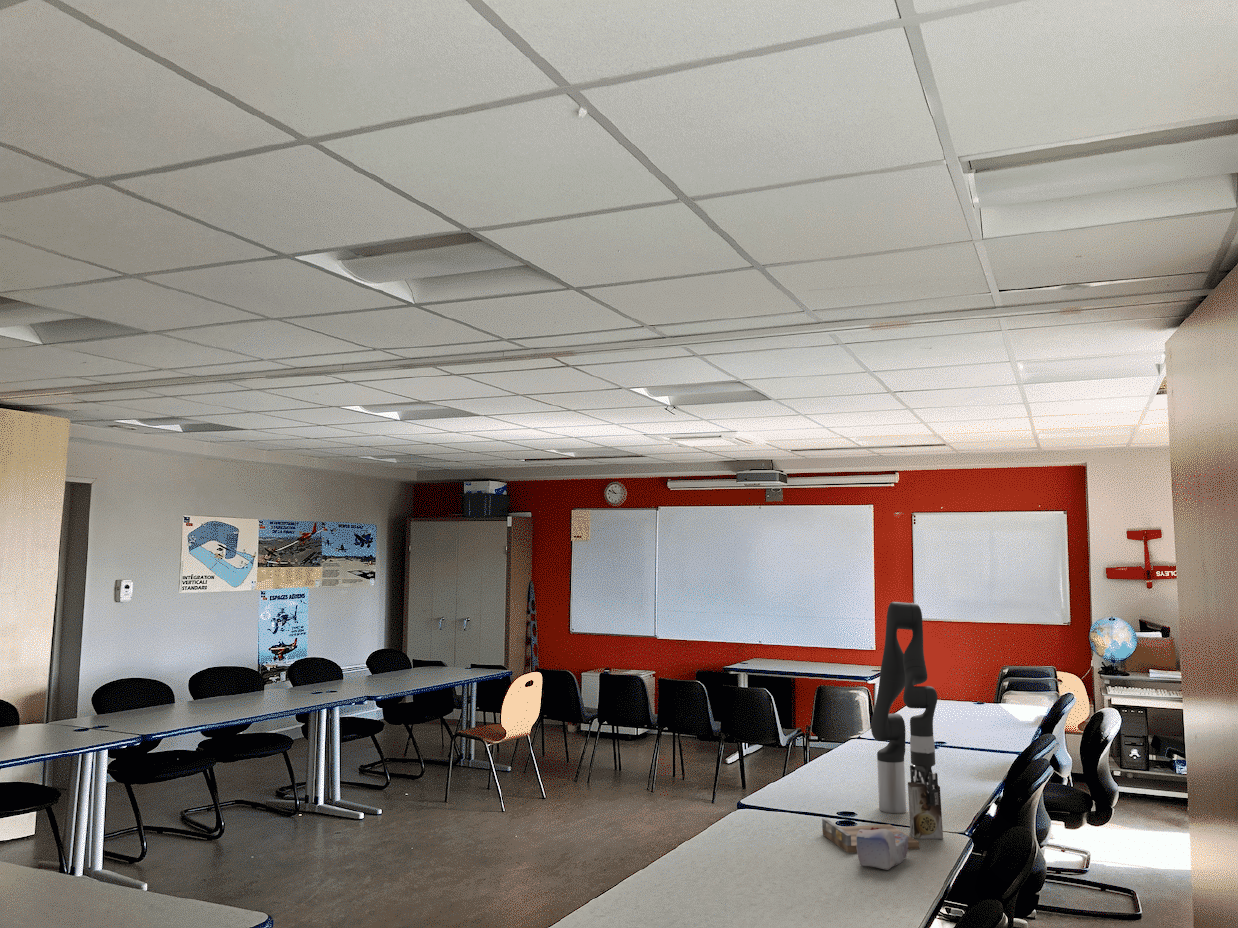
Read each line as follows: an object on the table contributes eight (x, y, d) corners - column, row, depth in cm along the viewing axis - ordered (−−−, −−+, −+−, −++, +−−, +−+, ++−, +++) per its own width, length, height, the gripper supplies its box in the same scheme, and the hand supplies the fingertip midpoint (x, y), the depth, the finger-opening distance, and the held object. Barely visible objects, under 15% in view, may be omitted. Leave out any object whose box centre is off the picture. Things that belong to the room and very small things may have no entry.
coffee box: (938, 833, 299) (936, 781, 301) (943, 839, 292) (941, 786, 294) (909, 832, 300) (907, 781, 301) (913, 838, 293) (911, 785, 295)
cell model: (851, 829, 265) (865, 814, 283) (853, 869, 264) (866, 851, 282) (898, 834, 260) (909, 818, 278) (900, 874, 258) (911, 856, 276)
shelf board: (821, 834, 299) (821, 818, 299) (889, 830, 302) (889, 814, 303) (846, 852, 279) (846, 835, 280) (919, 848, 283) (918, 831, 283)
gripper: (901, 745, 305) (903, 797, 304) (922, 754, 291) (924, 808, 289) (922, 744, 307) (924, 796, 305) (944, 753, 293) (947, 807, 291)
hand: (924, 802), depth 297 cm, fingers closed on coffee box, 7 cm apart
